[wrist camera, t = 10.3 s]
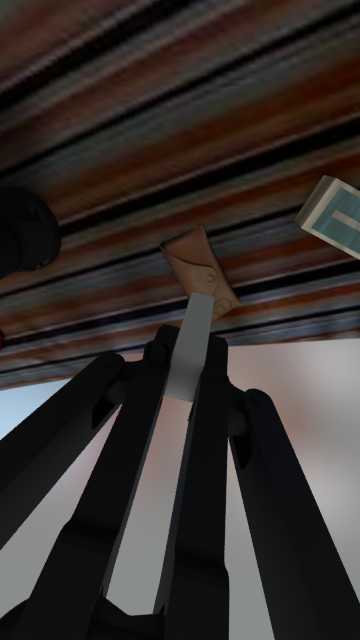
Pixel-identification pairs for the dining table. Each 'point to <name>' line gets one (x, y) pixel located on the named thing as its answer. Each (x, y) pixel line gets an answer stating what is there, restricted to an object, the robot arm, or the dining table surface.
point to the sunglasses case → (200, 269)
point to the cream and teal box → (333, 215)
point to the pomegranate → (1, 340)
